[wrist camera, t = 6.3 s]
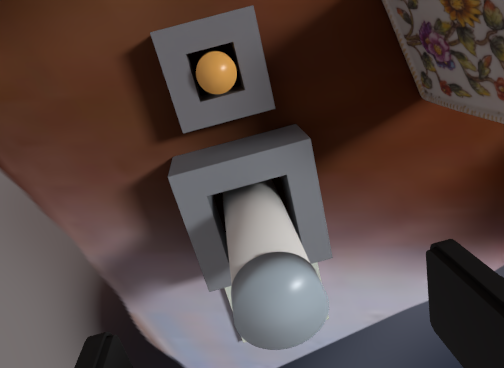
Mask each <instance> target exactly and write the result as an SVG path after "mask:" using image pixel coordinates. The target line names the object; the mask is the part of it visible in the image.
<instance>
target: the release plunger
mask: <svg viewBox="0 0 504 368" xmlns="http://www.w3.org/2000/svg"><path fill="white" fill-rule="evenodd" d="M196 77H197V81H198V83H199V85H200V86H201V87H202V88H203V89H204V90H205V91H207V92H209V93H211V94H223V93H225V92H227V91H229V90H230V89H231V88H232V87H233V85H234V84H235V81H236V78H237V70H236V66H235V64H234V62H233V61H232V59H231V58H230V57H229V56H228V55H227V54H225V53H224V52H222V51H219V50H211V51H208V52H206V53H204V54H203V55H202V56H201V57H200V59H199V61H198V64H197V68H196Z"/></svg>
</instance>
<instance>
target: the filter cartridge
mask: <svg viewBox="0 0 504 368" xmlns="http://www.w3.org/2000/svg"><path fill="white" fill-rule="evenodd" d="M222 198H223V208H224V217H225V227H226V236H227V246H228V255H229V264H230V274H231V283H232V287H231V299H232V309H233V319H234V324H235V327H236V330H237V331H238V333H239V334H240V336H241V337H242V338H243V339H244V340H246V341H247V342H248V343H250V344H252V345H254V346H256V347H259V348H263V349H269V350H280V349H287V348H291V347H294V346H297V345H299V344H302V343H304V342H305V341H307V340H309V339H310V338H311V337H313V336H314V335H315V334H316V333H317V332H318V331H319V330H320V329H321V327H322V326H323V324H324V322H325V321H326V318H327V315H328V311H329V300H328V297H327V294H326V292H325V290H324V287H323V285H322V283H321V281H320V279H319V277H318V275H317V273H316V270H315V269H314V267H313V266H312V265H311V263H310V261H309V259H308V257H307V255H306V253H305V250H304V248H303V246H302V244H301V242H300V239H299V237H298V235H297V233H296V231H295V229H294V226H293V224H292V222H291V220H290V218H289V216H288V213H287V211H286V209H285V207H284V205H283V203H282V200H281V198H280V196H279V194H278V192H277V189H276V187H275V185H274V183H273V182H272V180H271V179H269V180H265V181H261V182H258V183H254V184H250V185H246V186H243V187H239V188H235V189H232V190H228V191H224V192H223V196H222Z"/></svg>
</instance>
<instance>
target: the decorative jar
mask: <svg viewBox="0 0 504 368" xmlns="http://www.w3.org/2000/svg"><path fill="white" fill-rule="evenodd" d="M382 2H383V4H384V7H385V9H386V11H387V14H388V16H389V19H390V21H391V24H392V27H393V29H394V31H395V33H396V36H397V39H398V41H399V44H400V47H401V49H402V51H403V54H404V56H405V59H406V61H407V64H408V66H409V68H410V71H411V73H412V75H413V78H414V81H415V83H416V85H417V88H418V91H419V93H420V95H421V97H422V98H423V99H424V100H426V101H429V102H432V103H435V104H438V105H441V106H444V107H448V108H450V109H453V110H457V111H460V112H464V113H467V114H471V115H474V116H478V117H481V118H485V119H489V120H492V121H496V122H500V123H503V124H504V0H382Z"/></svg>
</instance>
